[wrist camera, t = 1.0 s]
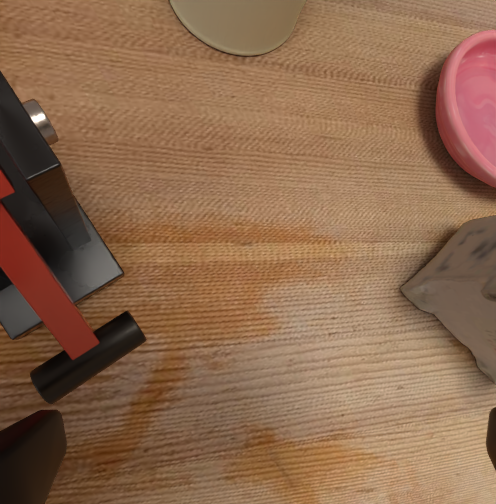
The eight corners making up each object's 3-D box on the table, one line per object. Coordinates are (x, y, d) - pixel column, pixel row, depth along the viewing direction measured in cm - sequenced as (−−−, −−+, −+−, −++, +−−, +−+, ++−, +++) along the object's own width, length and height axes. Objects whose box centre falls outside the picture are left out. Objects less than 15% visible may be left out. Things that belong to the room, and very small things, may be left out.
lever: (137, 326, 17) (155, 351, 15) (48, 384, 16) (55, 420, 14) (-13, 91, 13) (-14, 83, 11) (-154, 145, 12) (-185, 147, 10)
